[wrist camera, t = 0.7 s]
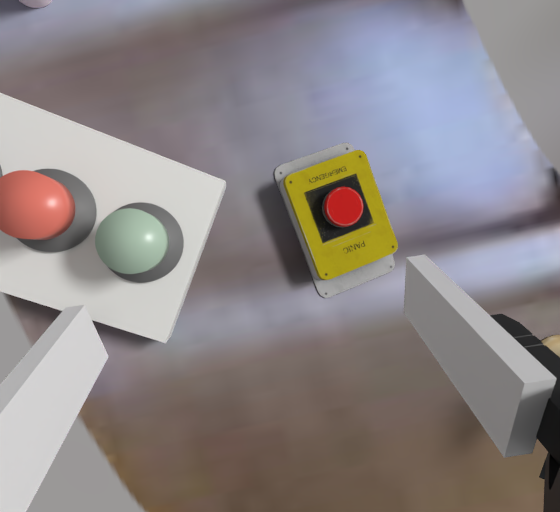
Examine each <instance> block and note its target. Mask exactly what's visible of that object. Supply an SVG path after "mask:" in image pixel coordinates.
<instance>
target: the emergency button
mask: <svg viewBox="0 0 560 512" xmlns="http://www.w3.org/2000/svg"><path fill="white" fill-rule="evenodd" d="M274 174H275V179H276V182H277V185H278V187H279V190H280V193H281V195H282V198H283V201H284V203H285V206H286V209H287V211H288V214H289V217H290V219H291V222H292V225H293V227H294V230H295V233H296V235H297V238H298V240H299V243H300V246H301V248H302V251H303V254H304V256H305V259H306V262H307V264H308V267H309V270H310V272H311V275H312V278H313V280H314V283H315V286H316V288H317V291H318V292H319V294H320V295H321V296H322V297H324V298H329V297H332V296H334V295H337V294H339V293H341V292H344V291H346V290H349V289H351V288H353V287H356V286H358V285H361V284H363V283H365V282H368V281H370V280H373V279H375V278H377V277H380V276H382V275H385V274H387V273H389V272H391V271H392V270H393V269H394V266H395V262H394V258H393V255H392V254H393V253H394V252H396V250H397V248H398V243H397V240H396V237H395V235H394V232H393V229H392V226H391V223H390V221H389V218H388V215H387V212H386V209H385V207H384V204H383V201H382V198H381V195H380V193H379V190H378V187H377V184H376V181H375V178H374V176H373V173H372V170H371V167H370V164H369V162H368V159H367V156H366V154H365V153H364V152H363V151H361V150H355V149H354V148H353V146H352V145H351V144H349V143H342V144H339V145H336V146H333V147H330V148H327V149H325V150H322V151H319V152H316V153H313V154H310V155H308V156H305V157H302V158H299V159H296V160H293V161H291V162H288V163H285V164H282V165H280V166H278V167H277V168H276V170H275V173H274Z"/></svg>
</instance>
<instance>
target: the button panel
mask: <svg viewBox="0 0 560 512" xmlns="http://www.w3.org/2000/svg"><path fill="white" fill-rule="evenodd" d="M18 170H29V171H34V172H38V173H40V174H43V175H45V176H47V177H50V178H52V179H54V180H57V181H59V182H60V183H62V184H63V185H64V186H65V187H66V188H67V189H68V190H69V191H70V193H71V194H72V196H73V199H74V202H75V216H74V220H73V222H72V224H71V225H70V227H69V228H68V229H67V230H66V231H65V232H64V233H62V234H61V235H59V236H57V237H55V238H52V239H48V240H34V239H21V238H16V237H12V236H10V235H7V234H6V233H4V232H2V231H1V230H0V292H3V293H6V294H10V295H13V296H16V297H19V298H22V299H26V300H29V301H32V302H35V303H38V304H42V305H45V306H48V307H51V308H54V309H58V310H61V311H63V310H64V309H65V308H66V307H73V306H79V305H85V307H86V309H87V311H88V313H89V315H90V317H91V320H93V321H96V322H99V323H103V324H106V325H109V326H112V327H115V328H119V329H122V330H125V331H128V332H131V333H135V334H138V335H141V336H144V337H147V338H151V339H154V340H157V341H160V342H163V343H166V342H167V341H168V339H169V338H170V336H171V335H172V332H173V329H174V327H175V324H176V321H177V318H178V316H179V313H180V310H181V308H182V305H183V302H184V300H185V297H186V294H187V291H188V289H189V286H190V283H191V281H192V278H193V275H194V273H195V270H196V267H197V265H198V262H199V259H200V256H201V254H202V251H203V248H204V246H205V243H206V240H207V238H208V235H209V232H210V229H211V227H212V224H213V221H214V219H215V216H216V213H217V211H218V208H219V205H220V202H221V200H222V197H223V194H224V192H225V189H226V181H224V180H222V179H219V178H216V177H214V176H211V175H209V174H206V173H204V172H201V171H199V170H196V169H193V168H191V167H188V166H186V165H183V164H181V163H178V162H176V161H173V160H170V159H168V158H165V157H163V156H160V155H158V154H155V153H153V152H150V151H147V150H145V149H142V148H140V147H137V146H135V145H132V144H130V143H127V142H124V141H122V140H119V139H117V138H114V137H112V136H109V135H107V134H104V133H101V132H99V131H96V130H94V129H91V128H89V127H86V126H84V125H81V124H78V123H76V122H73V121H71V120H68V119H66V118H63V117H61V116H58V115H55V114H53V113H50V112H48V111H45V110H43V109H40V108H38V107H35V106H33V105H30V104H27V103H25V102H22V101H20V100H17V99H15V98H12V97H10V96H7V95H4V94H2V93H0V178H1V177H2V176H4V175H6V174H8V173H10V172H13V171H18ZM127 208H132V209H138V210H142V211H144V212H146V213H148V214H150V215H152V216H154V217H156V218H157V219H158V220H159V221H160V222H161V223H162V224H163V225H164V227H165V228H166V230H167V233H168V236H169V248H168V252H167V254H166V256H165V258H164V260H163V261H162V262H161V263H160V264H159V265H158V266H156V267H155V268H153V269H151V270H149V271H145V272H141V273H136V274H124V273H120V272H117V271H114V270H112V269H111V268H109V267H108V266H107V265H106V264H105V263H103V261H102V260H101V259H100V257H99V255H98V253H97V250H96V246H95V236H96V232H97V229H98V227H99V225H100V223H101V222H102V221H103V220H104V218H106V217H107V216H108V215H109V214H111V213H113V212H115V211H117V210H120V209H127Z"/></svg>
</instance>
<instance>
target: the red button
mask: <svg viewBox="0 0 560 512" xmlns="http://www.w3.org/2000/svg"><path fill="white" fill-rule="evenodd" d="M74 216H75V202H74V199H73V196H72V194H71V193H70V191H69V190H68V189H67V188H66V187H65V186H64V185H63V184H62V183H60V182H59V181H57V180H54V179H52V178H50V177H47V176H45V175H43V174H40V173H38V172H34V171H29V170H18V171H13V172H10V173H8V174H6V175H4V176H2V177H1V178H0V230H1V231H2V232H4V233H6V234H7V235H10V236H12V237H16V238H21V239H34V240H48V239H52V238H55V237H57V236H59V235H61V234H62V233H64V232H65V231H66V230H67V229H68V228H69V227H70V225H71V224H72V222H73V220H74Z"/></svg>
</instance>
